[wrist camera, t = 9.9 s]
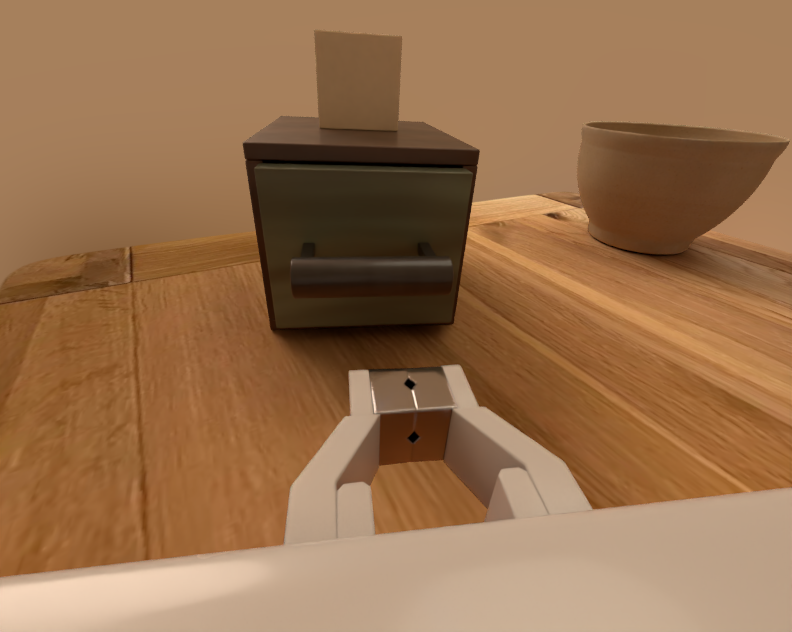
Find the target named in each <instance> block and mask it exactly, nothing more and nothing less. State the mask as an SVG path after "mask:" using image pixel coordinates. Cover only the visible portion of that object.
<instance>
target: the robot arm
mask: <svg viewBox="0 0 792 632" xmlns="http://www.w3.org/2000/svg"><path fill="white" fill-rule="evenodd" d="M349 404H350V416H345V417H344V418H343V419H342V421H341V422H340V423H339V425H338V426H337V427H336V428H335V430H334V431H333V432H332V434H331V435H330V436H329V438H328V439H327V440H326V441H325V443H324V444H323V445H322V447H321V448H320V449H319V450H318V452H317V453H316V454H315V456H314V457H313V458H312V460H311V461H310V462H309V463H308V465H307V466H306V467H305V469H304V470H303V471H302V472H301V474H300V475H299V476H298V478H297V479H296V480H295V481H294V483H293V484H292V485H291V487H290V494H289V503H288V511H287V520H286V528H285V537H284V545H279V546H270V547H261V548H252V549H244V550H235V551H226V552H217V553H208V554H200V555H191V556H182V557H173V558H164V559H156V560H147V561H138V562H129V563H120V564H112V565H103V566H94V567H85V568H76V569H68V570H59V571H50V572H41V573H32V574H24V575H15V576H6V577H0V632H792V487H789V488H780V489H771V490H762V491H753V492H744V493H736V494H727V495H718V496H709V497H700V498H692V499H683V500H674V501H665V502H656V503H647V504H639V505H630V506H621V507H612V508H604V509H595V510H593V509H592V507H591V505H590V504H589V502H588V500H587V499H586V497H585V495H584V494H583V492H582V490H581V489H580V487H579V485H578V484H577V482H576V480H575V479H574V477H573V475H572V474H571V472H570V470H569V469H568V467H567V465H566V464H565V462H564V461H562V460H561V459H560V458H558V457H557V456H555V455H554V454H552V453H551V452H549V451H548V450H547V449H545V448H544V447H542V446H541V445H539V444H538V443H537V442H535V441H534V440H532V439H531V438H529V437H528V436H526V435H525V434H524V433H522V432H521V431H519V430H518V429H516V428H515V427H513V426H512V425H511V424H509V423H508V422H506V421H505V420H503V419H502V418H500V417H499V416H498V415H496V414H495V413H493V412H492V411H490V410H489V409H488V408H486V407H479V405H478V403H477V401H476V398H475V396H474V394H473V392H472V389H471V387H470V385H469V383H468V381H467V378H466V376H465V374H464V372H463V369H462V367H461V366H460V365H459V364H458V365H445V366H437V367H420V368H398V369H369V370H349ZM436 460H444V463H445V464H446V465H447V466H448V467H449V468H450V469H451V470H452V471H453V472H454V473H455V474H456V476H457V477H458V478H459V479H460V480H461V481H462V482H463V483H464V484H465V485H466V486H467V487H468V488H469V490H470V491H471V492H472V493H473V494H474V495H475V496H476V497H477V498H478V499H479V500H480V501H481V502H482V504H483V505H484V506H485V507H486V508H487V509H488V511H487V514H486V518H485V521H484V522H482V523H473V524H464V525H455V526H447V527H438V528H429V529H420V530H411V531H402V532H393V533H384V534H376V535H375V526H374V516H373V506H372V496H371V487H370V485H371V483H372V481H373V479H374V477H375V474H376V472H377V470H378V468H379V466H381V465H389V464H398V463H407V462H419V461H436Z"/></svg>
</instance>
